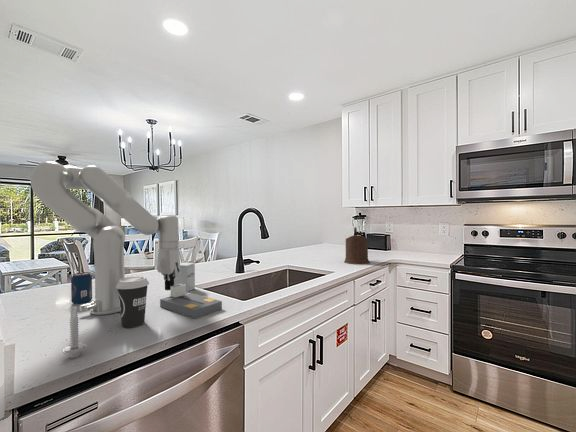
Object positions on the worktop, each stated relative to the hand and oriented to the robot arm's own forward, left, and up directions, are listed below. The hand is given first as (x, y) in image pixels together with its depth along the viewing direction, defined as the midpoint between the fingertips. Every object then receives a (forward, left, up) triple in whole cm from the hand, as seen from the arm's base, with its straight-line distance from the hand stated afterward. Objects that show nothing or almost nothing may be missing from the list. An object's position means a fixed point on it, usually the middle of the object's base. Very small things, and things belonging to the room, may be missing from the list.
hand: (169, 289), depth 117 cm
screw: (-40, -21, -5) cm, 45 cm away
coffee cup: (-21, -12, -5) cm, 25 cm away
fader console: (0, -14, -5) cm, 15 cm away
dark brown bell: (+132, -28, -5) cm, 136 cm away
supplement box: (+13, +10, -5) cm, 17 cm away
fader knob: (0, -6, -1) cm, 6 cm away
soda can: (-22, +29, -5) cm, 36 cm away
